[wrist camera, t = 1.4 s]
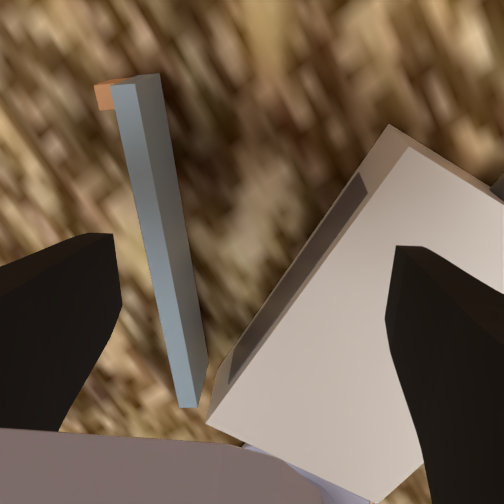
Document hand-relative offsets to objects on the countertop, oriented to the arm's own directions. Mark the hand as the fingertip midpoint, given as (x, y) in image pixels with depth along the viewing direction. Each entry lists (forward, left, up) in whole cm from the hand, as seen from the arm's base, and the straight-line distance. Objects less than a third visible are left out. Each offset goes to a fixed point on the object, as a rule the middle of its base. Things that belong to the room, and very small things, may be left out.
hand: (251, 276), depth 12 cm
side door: (-5, +2, -8) cm, 9 cm away
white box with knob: (-3, -7, -8) cm, 12 cm away
